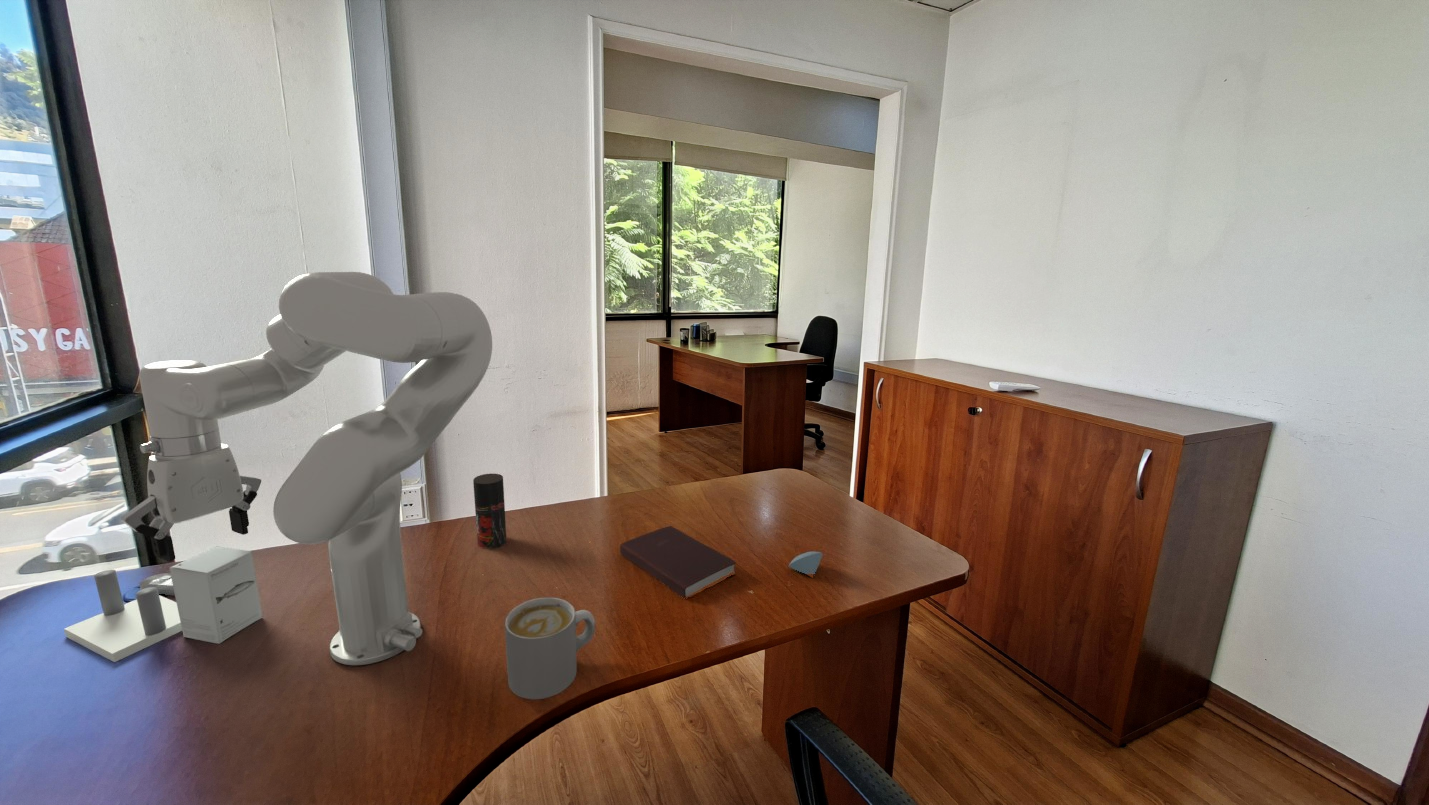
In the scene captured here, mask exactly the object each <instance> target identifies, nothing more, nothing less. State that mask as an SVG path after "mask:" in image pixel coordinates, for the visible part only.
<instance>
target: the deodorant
mask: <svg viewBox="0 0 1429 805" xmlns="http://www.w3.org/2000/svg"><path fill="white" fill-rule="evenodd" d="M472 480H473V481H472V482H473V496H474V498H473V499H474V509H475V510H474V511H475V522H476V524H475V526H476V540H477V542H476V543H477V547H479V548H481V549H483V550H484V549H485V550H492V549H498V548H500V547H502V546H504V545H505V544H506V543H507V527H506V526H507V525H506V523H507V522H506V511H505V510H506V508H505V507H506V505H505V504H506V503H505V489H504V476H503V475H502V474H499V473H485V474H480V475H477V476H475V477H474V478H473V479H472Z"/></svg>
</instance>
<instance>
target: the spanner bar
mask: <svg viewBox="0 0 1429 805" xmlns="http://www.w3.org/2000/svg"><path fill="white" fill-rule="evenodd" d="M149 587H157V589H158V593H161V594H165V595H164V596H175V593H174V588H173V583H172V578H171V573H170V572H163V573H158V574H157V573H156V574H153V575H151V576H148V577H146V578H144V579H143V580H141V581H140V582H139V588H140V589H139V590H142V589H145V588H149Z"/></svg>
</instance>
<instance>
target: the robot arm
mask: <svg viewBox="0 0 1429 805" xmlns="http://www.w3.org/2000/svg"><path fill="white" fill-rule="evenodd" d="M278 310H279V314H278V315H276V316H275V317H273V318H272V319H271V320H270V322H269V323H268V325H267V327H266V330H265V334H266V339H267V342H268V345H269V346H270V348H269V349H268V350H267V351H265V352H264V353H262V354H260V355H258V356H256V357H253V358H249V359H243V360H237V361H231V362H225V363H220V364H219V363H218V364H216V365H215V364H214V365H211V366H207V365H206V364H205V363H203V362H201V361H197V360H189V359H188V360H187V359H186V360H185V359H184V360H182V359H181V360H178V359H175V360H163V361H156V362H151V363H148V364H145V365H144V366H143V367H142V368H141V369H140V370H139V374H138V375H139V382H140V387H141V393H142V398H143V403H144V409H145V414H146V418H147V424H148V431H149V435H150V436H148V439H149V442H146V443H143V444H140V445H139V449H140V452H141V453H142V454H147V453H149V454H151V453H152V454H153V455H150V456H149V458H148V463H147V476H146V477H147V478H146V481H147V483H146V484H147V485H146V486H147V487H146V488H147V498H146V499H144V500H143V501H141V502H140V503H139V504H137V505H136V506H134V507H133V508H132V509H130V510H129V511H127V512H126V513H125V514H122V516H121V517H120V521H121V522H123V523H124V524H125V525H126V526H127V527H129V528H130V529H132V531H134V532H135V533H136V532H137V533H139V534H142V535H145V536H148V537H150V541H151V546H152V551H153V555H154V556H155V557H156V558H157V559H158V558H159V559H161V560H163V561H166V562H169V563H171V562H173V561H175V560H176V555H175V554H176V553H175V548H174V543H173V538H172V536H170V535H168V533H169V532H170V530H171V529H172V527H173V526H174V525H175V524H181V523H185V522H188V521H191V520H195V519H199V518H201V517H204V516H207V515H211V514H214V513H217V512H221V511H223V510H226V509H229V510H228V515H229V520H230V528H231V531H232V532H234V533H237V534H239V535H247V534H249V529H248V526H249V525H250V522H249V514H248V511H249V510H250V509H251V504H253V501H254V500H255V499H256V498H257V496H258V491H259V489H260V486H261V484H262V479H261V478H258V477H254V476H253V477H252V476H245V475H240V473H239V468H238V466H237V463H236V460H235V457H234V454H233V452H232V450H231V448H230V446H229V445H228V444H225V443H222V442H221V441H222V439H221V435H220V428H219V423H218V420H220V419H224V418H227V417H231V416H235V415H238V414H241V413H245V412H248V411H252V410H256V409H259V408H262V407H266V406H269V405H273V404H276V403H279V402H280V401H283V400H284V399H286V398H288V397H289V396H291V395H293V394H296V392H298V391H299V390H301V389H302V388H304V387H307V385H309V384H311V383H312V382H313V381H315V380H316V379H317V378H318V377H319V376H320V374H321V372H322V371H323V369H324V367H325V365H327V364H329V363H330V362H331V361H332V360H334V359H336V358H337V357H339V356H341V355H342V354H344V353H346V352H350V353H354V354H358V355H361V356H366V357H369V358H373V359H378V360H382V361H386V362H391V363H398V364H399V363H400V364H409V363H417V364H416V365H415V366H414V367H413V368H411V369H410V370H409V372H407V373H406V374H405V375H404V376H403V378H402V379H401V380H400V382H399V383H398V385H397V386H396V387H395V389H394V390H393V391H392V392H391V393H390V395H388V397H387V398H386V399H385V400H384V401H383V402H382V403H381V404H380V405H378V406H376V407H375V408H373V409H371V410H369V411H366V412H364V413H362V414H358V415H356V416H354V417H351V418H349V419H346V420H344V421H341V422H339V423H337V424H336V425H334V426H332V427H331V428H329V429H328V430H326V431H325V432H324V433H323V434H322V435H321V436H319V438H318V439H317V440H316V441H315V442H314V443H313V444H312V446H311V447H310V448H309V450H308V451H307V452H306V453H305V455H304V456H303V457H302V459H301V460H300V462H299V463H298V464H297V465H296V467H294V469H293V470H292V472H291V473H290V475H289V476H288V477H287V478H286V480H285V481H284V483H283V484H282V485H281V486H280V488H279V490H278V492H277V494H276V496H275V498H274V503H273V511H272V512H273V513H272V514H273V519H274V523H275V525H276V527H277V529H278V530H279V531H280V533H281V534H282V535H283V536H284V537H285V538H287V539H288V540H289V541H290V540H291V541H292V542H294V543H298V544H303V545H317V544H318V545H319V544H322V543H325V542H328V556H329V564H330V572H331V578H332V586H333V592H334V600H335V608H336V613H337V620H338V621H337V622H338V627H339V628H338V629H339V630H338V632H336V634H335V635H334V636H333V637H332V639H331V640H330V643H329V652H330V653H329V654H330V657H331V658H332V659H333V660H334V661H335V662H337V663H339V664H343V665H346V666H363V665H371V664H375V663H378V662H379V663H380V662H382V661H384V660H387V659H390V658H392V657H395V656H397V655H398V654H400V653H402V652H403V651H406V652H410V651H412V650H413V649H414V648H415V647H416V644H417V639H418V638H420V637H421V636H422V634H423V628H421V627H422V626H421V625H422V624H421V620H420V618H419V617H418V616H417V615H416V614H414V613H412V612H410V611H409V606H408V605H409V604H408V595H407V585H406V576H405V566H404V559H403V558H404V557H403V548H402V536H401V525H400V524H401V522H400V518H401V517H400V513H401V503H402V502H401V501H402V492H403V482H402V474H401V473H403V472H404V471H405V470H407V469H409V468H410V467H412V466H413V465H414V464H415V465H416V463H417V462H419V461H420V460H421V458H423V456H424V455H425V454H426V453H427V451H428V450H429V448H431V446H432V445H433V443H434V442H435V441H436V440H437V438H438V437H439V436H440V435H441V434H442V432H443V431H444V430H445V429H446V427H447V426H448V425H449V424H450V423H451V422H452V420H453V418H454V417H455V416H456V414H457V413H458V412H459V411H460V410H461V408H462V407H463V406H464V405H465V403H466V402H467V401H468V399H469V398H470V397H472V394H474V392H475V391H476V390H477V388H478V387H479V385H480V384H481V382H482V380H483V378H484V377H485V375H486V373H487V371H488V368H489V366H490V362H491V359H492V354H493V335H492V332H491V327H490V324H489V321H488V319H487V317H486V315H485V313H484V312H483V310H482V309H481V308H480V307H479V305H478V304H477V303H476V302H475V301H473V300H472V299H470V298H469V297H468V296H465V295H462V294H460V293H459V294H458V293H453V292H446V291H445V292H443V291H441V292H440V291H439V292H437V291H435V292H423V293H413V294H412V293H411V294H396V293H395V294H394V293H393V291H392V289H391V288H390V287H389V285H387V284H386V283H385V282H384V281H383V280H381V279H380V278H378V277H376V276H374V275H372V274H369V273H366V272H360V271H317V272H308V273H304V274H300V275H298V276H297V277H295V278H293V279H291V280H290V281H289V282H288V283H287V284H286V285H285V286H284V288H283V289H282V291H281V293H280V296H279V299H278ZM243 485H246V487H245V490H244V487H243ZM148 513H151V515H152V516H153V517H154V518H153V519H152V521H151V522H150V524H149V525H147V524H146V523H144V522H143V520H142V518H143V517H145V516H146V515H147V514H148Z"/></svg>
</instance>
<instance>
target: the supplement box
mask: <svg viewBox="0 0 1429 805" xmlns="http://www.w3.org/2000/svg"><path fill="white" fill-rule="evenodd" d="M169 573H171V578H172V583H173V588H174V593H175V595H174V597H175V602H177V607H178V612H179V617H180V622H181V627H182V631H181V632H182V634H183V635H182V636H183V637H184V638H188V639H193V640H197V641H202V642H208V643H212V644H218V645H220V644H222V643H223V642H224V641H225V640H228V639H229V638H231V636H233V635H236V634H237V633H238V632H240V631H242V630H243V629H245V628H247V627H248V626H250V625H252V624H253V623H255V622H257V621H260V620H261V619H262V618H263V617H264V616H263V612H262V605H261V604H262V602H261V599H260V593H259V587H258V581H257V575H256V569H255V562H254V557H253V552H252V550H246V549H240V548H239V549H238V548H232V547H225V546H219V545H218V546H215V547H213V548H209V549H208V550H206V551H203V552H201V553H199V554H197V555H195V556H192V557H190V558H187V559H186V560H184V561H180V562H179V563H177V564H175V565H172V566H170V567H169Z"/></svg>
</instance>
